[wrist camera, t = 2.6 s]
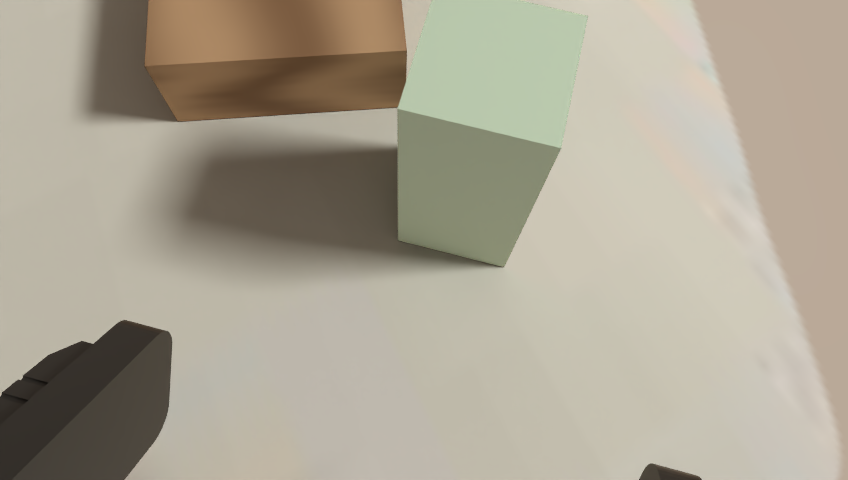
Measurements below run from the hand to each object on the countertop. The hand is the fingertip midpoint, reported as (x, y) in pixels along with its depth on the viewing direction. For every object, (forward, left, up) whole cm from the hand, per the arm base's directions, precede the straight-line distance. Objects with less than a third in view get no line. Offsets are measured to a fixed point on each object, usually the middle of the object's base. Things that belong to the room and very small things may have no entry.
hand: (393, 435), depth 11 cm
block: (+4, +10, -14) cm, 18 cm away
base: (-3, +20, -14) cm, 25 cm away
